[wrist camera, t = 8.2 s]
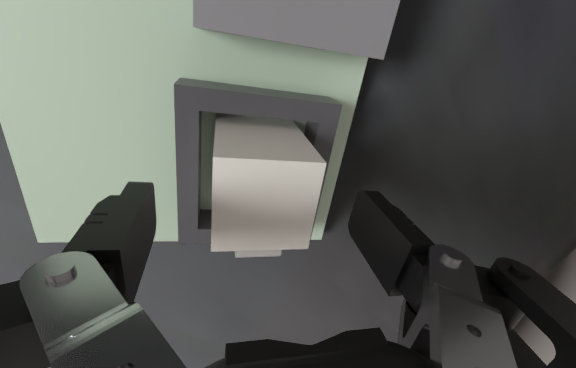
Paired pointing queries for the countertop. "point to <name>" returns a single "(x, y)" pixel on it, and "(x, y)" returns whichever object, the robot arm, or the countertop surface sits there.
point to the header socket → (238, 101)
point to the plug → (263, 186)
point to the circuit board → (160, 89)
